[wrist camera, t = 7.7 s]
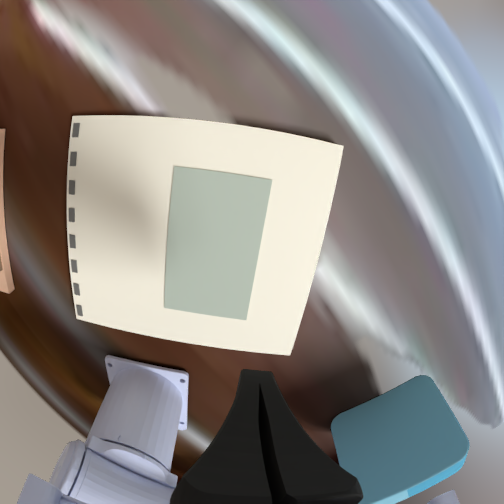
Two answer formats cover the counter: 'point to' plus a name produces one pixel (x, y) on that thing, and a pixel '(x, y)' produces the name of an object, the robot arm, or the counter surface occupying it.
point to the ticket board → (196, 228)
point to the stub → (4, 232)
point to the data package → (400, 442)
